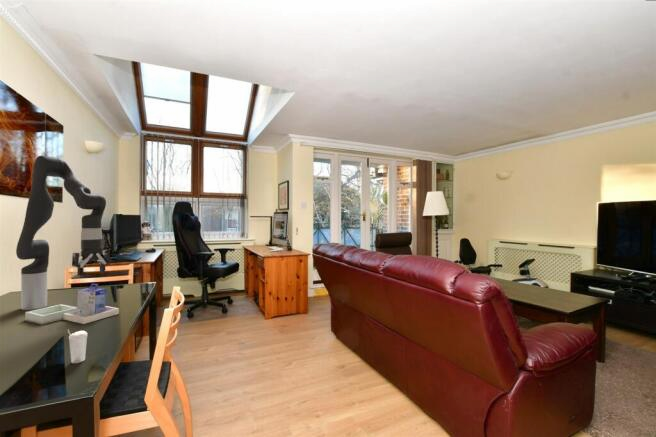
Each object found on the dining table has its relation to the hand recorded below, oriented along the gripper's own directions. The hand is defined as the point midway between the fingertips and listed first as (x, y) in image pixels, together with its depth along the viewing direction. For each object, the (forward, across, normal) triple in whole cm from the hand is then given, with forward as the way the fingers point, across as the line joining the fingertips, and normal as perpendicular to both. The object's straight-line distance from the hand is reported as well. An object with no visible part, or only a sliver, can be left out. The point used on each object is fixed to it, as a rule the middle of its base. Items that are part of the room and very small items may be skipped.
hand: (91, 274), depth 137 cm
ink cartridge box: (+19, 0, 0) cm, 19 cm away
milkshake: (+20, +28, +42) cm, 54 cm away
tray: (+19, +8, -14) cm, 25 cm away
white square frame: (+19, 0, 0) cm, 19 cm away
